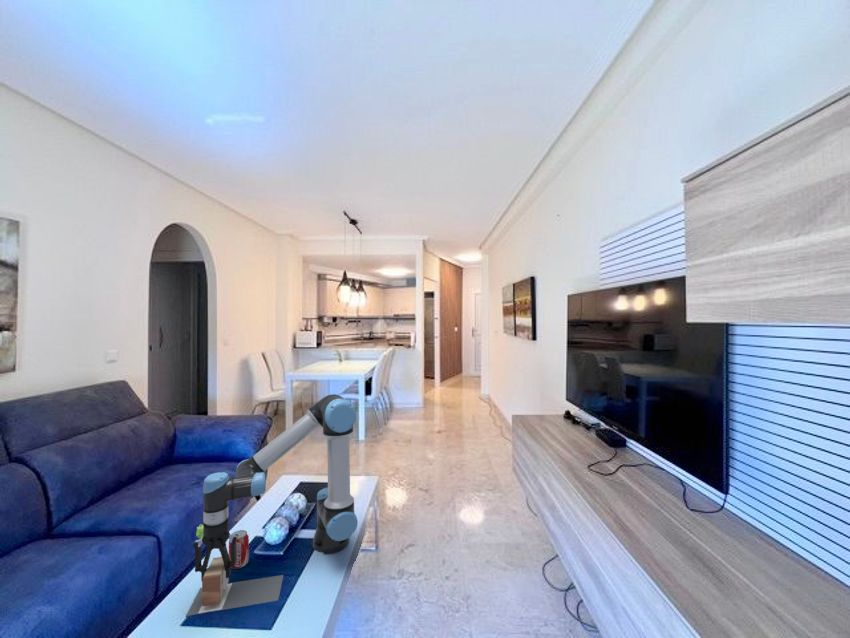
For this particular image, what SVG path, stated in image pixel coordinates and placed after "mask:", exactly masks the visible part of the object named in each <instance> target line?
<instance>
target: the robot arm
mask: <svg viewBox="0 0 850 638" xmlns="http://www.w3.org/2000/svg"><path fill="white" fill-rule="evenodd" d="M356 411H357V410H356V409H355V407H354V405H353V404H352V403H351V402H350V401H349V400H347V399H345V398H344V397H343V396H341V395H339V394H335V393H334V394H328V395H325V396H323V397H322V398H321V399H319V400H318V401H316V403H314V404H313V405H312V406H311V407H309V408H308V409H307V411H306V414H304V415H303V416H302V417H300V418H299V419H298V420H297V421H296V422H294V423H293V424H292V425H290V426H289V427H287V428H286V429H285V430H284V431H283V432H282V433H280V434H278V436H277V437H275V438H274V439H272V440H271V441H270V442H269V443H268V444H266V445H265V446H264V447H263V448H261V449H260V450H259V451H258V452H256V453H255V454H254V455H252V456H251V457H250V458H248V459H244V460H242V461H240V462H239V463H238V464H237V466H236V469H235V477H229V474H228V473H227V472H225V471H224V472H214V473H211V474H209V475H207V476H206V477H205V478H204V480H203V489H202V490H203V491H202V499H203V501H202V502H203V505H202V508H203V509H202V510H203V513H202V514H203V517H202V518H203V520H202V521H203V524H202V525H203V538H202V539H200V538H197V539H195V541H194V543H193V544H192V545H193V548H194V571H195V572H196V573H198V572H200V573H201V574H200V577H201V578H200V579H201V582H202V578H203V576H204V575H205V573H206V571H207V569H208V567H209V562H210V561H209V560H210V558H211V554H212V551H213V550H215V549H218V552H220V555H221V556H220V557H222V559H223V562H224V566H225V567H224V570H223V590H224V589H226V587H227V584H228V583H229V582H228V578H229V579H230V576H231V573H232V571H231V569H232V568H231V567H234V566H235V563H236V561H237V553H236V540H237V537H238V534H235V535H232V534H231V533H230V530H229V502H232V501H236V500H237V501H238V500H241V499H246V498H252V497H253V498H254V497H257V496H260V495H263V494H265V493H266V487H267V485H266V483H267V481H266V474H265V472H266V470H269V468H270V467H272V466H273V465H274V464H275V463H277V461H278V460H280V459H281V458H283V457H284V456H285V455H286V454H287V453H288V452H290V451H291V450H292V449H294V448H295V447H296V446H297V445H299V443H301V442H302V441H304V440H305V439H306V438H307V437H308V436H310V435H312V434H313V432H315V431H316V430H317V429H318V428H320V429H321V428H322V435H323V436H324V437H325V438H326V439H327V440H326V441H327V442H326V447H327V451H326V452H327V453H326V454H327V456H326V457H327V487H324V488H322V489H320V490H319V491H317V495H316V522H317V523H316V529H315V533H314V536H313V540H312V548H313V550H315V551H316V552H318V553H322V554H326V555H328V554H335V553H339V552H340V551H342V550H344V549H345V548H346V547H347V546H348V545H349V542H350V537H352V535H353V534H354V533H355V532H356V530H357V527H358V524H359V523H358V517H357V514H355V498H354V496H352V495H351V475H350V474H351V471H350V470H351V469H350V468H351V467H350V466H351V464H350V462H351V461H350V459H351V458H350V457H351V456H350V455H351V454H350V436H351V435H352V434H353V433H354V425H355V423H356V421H357V412H356ZM229 540H230V543H231V561H230V558H229V550H228V547H227V541H229ZM203 544H204V546H205V547H206V550H205V554H204V559H203V561H202V554H203V553H202V551H203V547H202V545H203Z"/></svg>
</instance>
